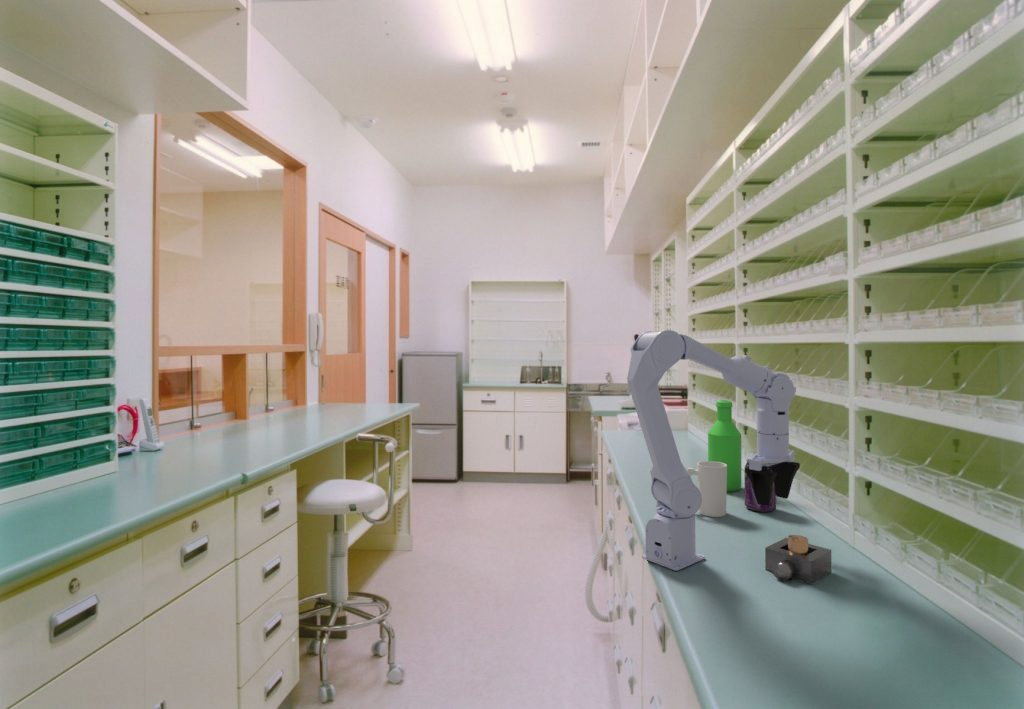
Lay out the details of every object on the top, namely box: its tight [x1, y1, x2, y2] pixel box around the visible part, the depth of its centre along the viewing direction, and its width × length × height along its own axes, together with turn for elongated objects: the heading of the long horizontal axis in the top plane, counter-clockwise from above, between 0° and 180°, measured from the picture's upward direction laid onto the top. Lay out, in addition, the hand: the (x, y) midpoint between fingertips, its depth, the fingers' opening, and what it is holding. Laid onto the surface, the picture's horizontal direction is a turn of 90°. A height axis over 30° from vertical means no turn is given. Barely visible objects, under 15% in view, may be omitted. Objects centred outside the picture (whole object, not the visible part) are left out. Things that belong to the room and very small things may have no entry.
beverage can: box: [744, 458, 777, 513], centre depth 133 cm, size 7×7×12 cm
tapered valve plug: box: [787, 534, 809, 556], centre depth 97 cm, size 3×3×6 cm
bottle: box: [707, 399, 742, 493], centre depth 152 cm, size 9×9×25 cm
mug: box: [687, 460, 728, 518], centre depth 131 cm, size 10×7×12 cm, turn 78°
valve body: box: [764, 537, 832, 585], centre depth 97 cm, size 13×8×4 cm, turn 128°
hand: (772, 501), depth 106 cm, fingers open, 7 cm apart
